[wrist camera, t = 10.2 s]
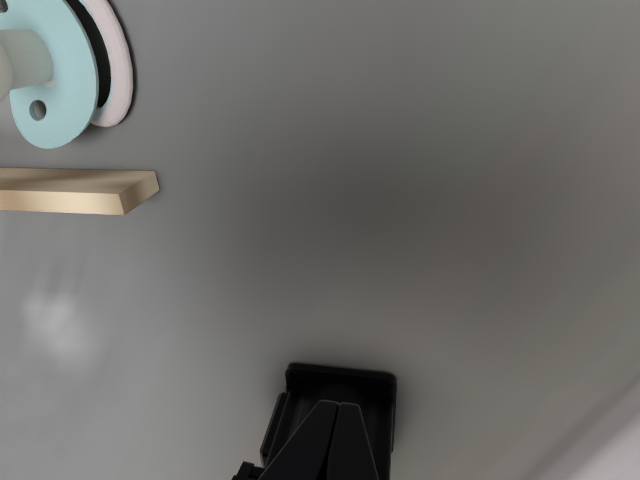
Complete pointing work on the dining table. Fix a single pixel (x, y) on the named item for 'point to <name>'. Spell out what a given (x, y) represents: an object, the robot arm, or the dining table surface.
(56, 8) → the pacifier
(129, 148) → the dining table surface
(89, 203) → the box
